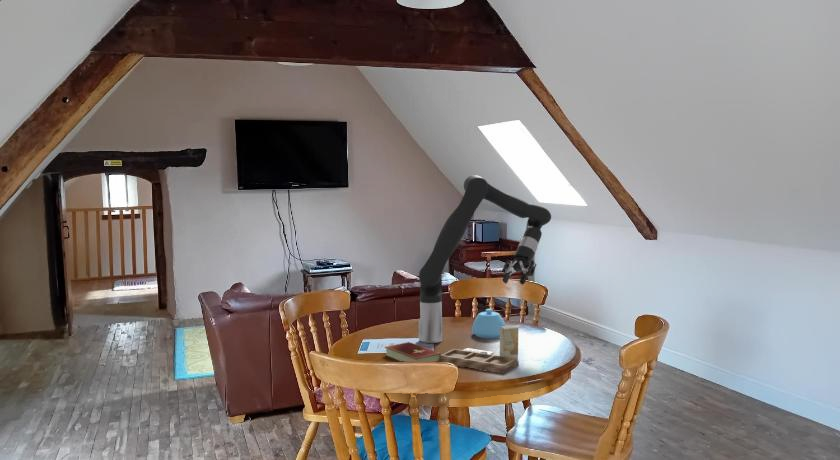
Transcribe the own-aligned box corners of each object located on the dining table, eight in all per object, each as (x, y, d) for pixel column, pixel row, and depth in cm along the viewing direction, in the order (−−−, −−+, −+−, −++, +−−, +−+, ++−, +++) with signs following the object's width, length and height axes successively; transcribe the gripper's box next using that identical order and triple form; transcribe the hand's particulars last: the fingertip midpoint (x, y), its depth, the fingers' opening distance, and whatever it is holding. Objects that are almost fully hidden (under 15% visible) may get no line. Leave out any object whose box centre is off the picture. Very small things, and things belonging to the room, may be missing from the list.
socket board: (438, 363, 242) (438, 356, 241) (455, 354, 252) (455, 348, 252) (503, 374, 227) (503, 366, 226) (518, 364, 238) (518, 357, 237)
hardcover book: (409, 351, 261) (409, 341, 260) (441, 362, 244) (441, 352, 243) (385, 356, 254) (384, 346, 253) (415, 368, 237) (415, 357, 236)
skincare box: (503, 360, 244) (503, 328, 243) (499, 357, 248) (498, 326, 247) (519, 358, 246) (518, 327, 244) (514, 355, 250) (514, 324, 249)
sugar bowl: (508, 339, 275) (508, 312, 274) (473, 339, 275) (473, 313, 274) (504, 330, 290) (504, 305, 289) (471, 331, 290) (471, 306, 289)
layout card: (458, 353, 254) (458, 351, 254) (467, 349, 260) (467, 347, 260) (485, 357, 247) (485, 355, 247) (493, 353, 253) (493, 351, 253)
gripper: (508, 244, 269) (494, 277, 263) (536, 245, 259) (522, 279, 253) (517, 254, 274) (503, 286, 267) (545, 255, 263) (531, 288, 257)
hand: (512, 283), depth 260 cm, fingers open, 8 cm apart
